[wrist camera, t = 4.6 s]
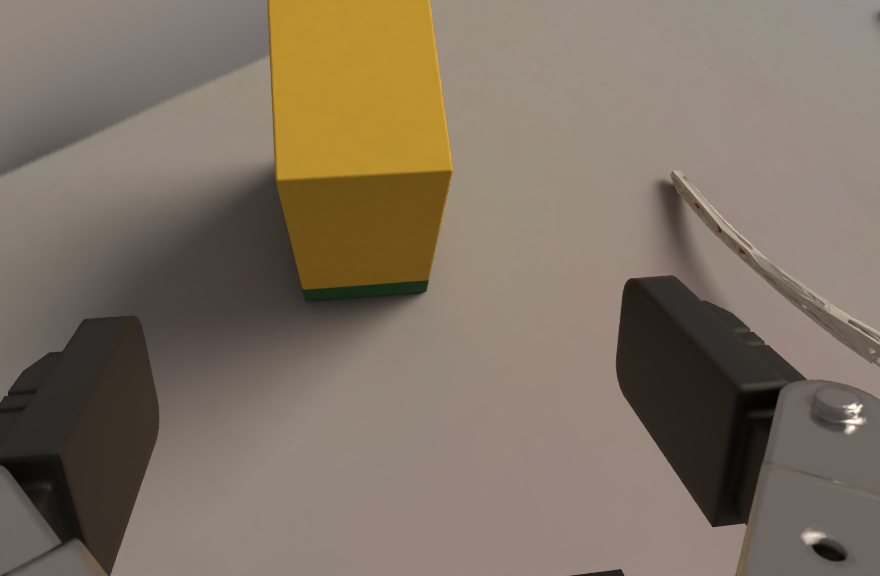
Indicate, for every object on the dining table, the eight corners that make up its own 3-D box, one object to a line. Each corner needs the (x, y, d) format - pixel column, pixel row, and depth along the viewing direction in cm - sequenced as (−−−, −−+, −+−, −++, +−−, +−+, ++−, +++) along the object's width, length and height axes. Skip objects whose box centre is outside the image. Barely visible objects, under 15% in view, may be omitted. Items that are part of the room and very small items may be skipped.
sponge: (304, 301, 26) (275, 180, 18) (297, 155, 28) (266, -16, 20) (426, 292, 27) (453, 170, 18) (410, 149, 29) (427, -20, 20)
